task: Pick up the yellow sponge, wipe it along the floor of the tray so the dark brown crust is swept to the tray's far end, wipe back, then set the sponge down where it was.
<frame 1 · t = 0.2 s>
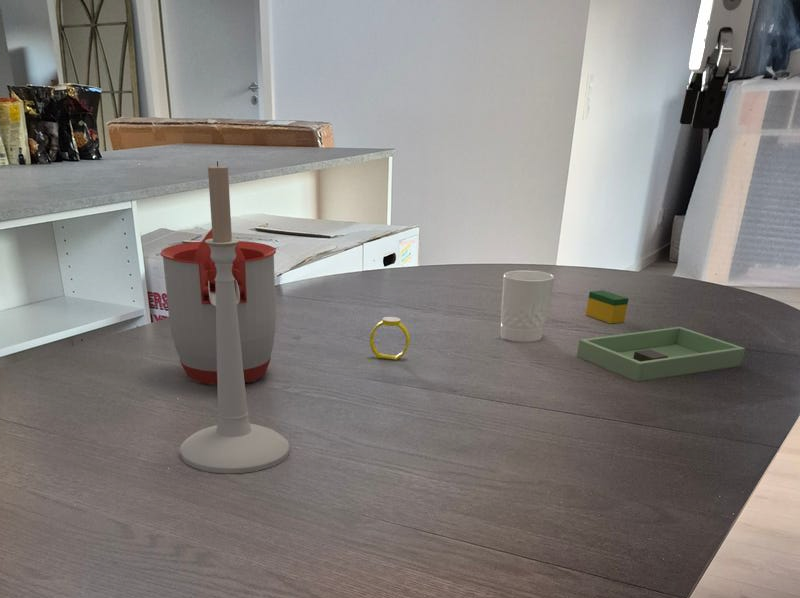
hand: (697, 126, 112), 31 cm above the table, tool pointing down, fingers open, 9 cm apart
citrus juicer: (226, 378, 124), on the table
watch: (388, 359, 131), on the table
crust: (649, 361, 128), point 1 cm above the table, touching tray
tray: (656, 364, 129), on the table
white cup: (520, 340, 140), on the table
candlestick: (235, 453, 100), on the table
sponge: (604, 318, 152), on the table
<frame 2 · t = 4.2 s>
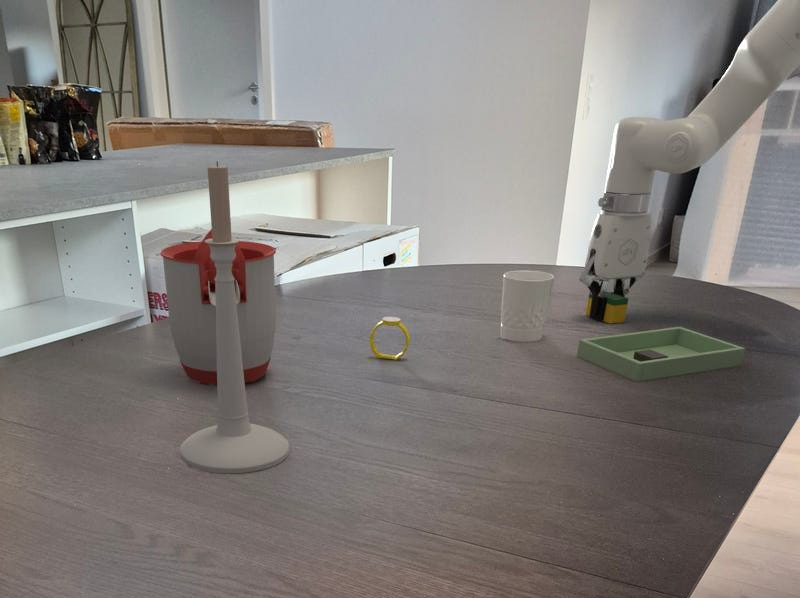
hand: (604, 317, 152), 0 cm above the table, tool pointing down, fingers closed on sponge, 3 cm apart
sponge: (604, 318, 152), on the table, touching gripper
everything else where it was.
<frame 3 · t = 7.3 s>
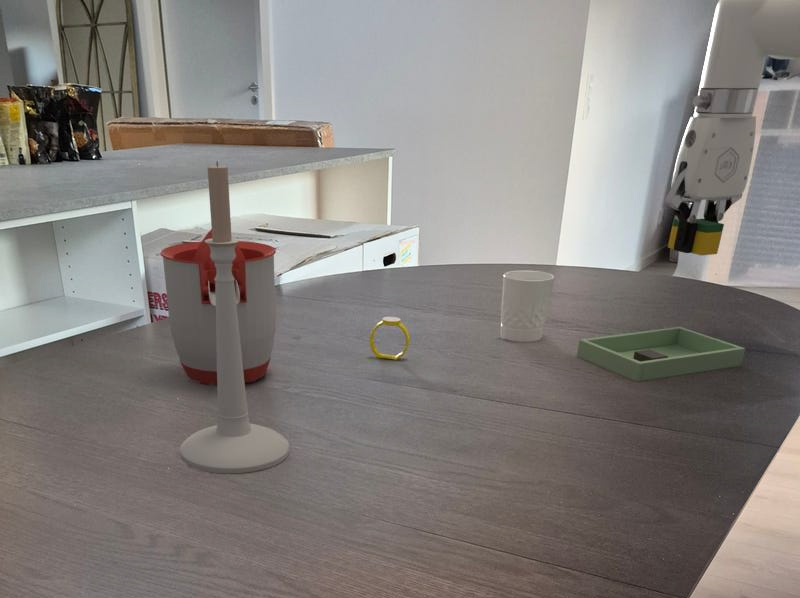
hand: (692, 249, 126), 15 cm above the table, tool pointing down, fingers closed on sponge, 3 cm apart
sponge: (692, 250, 126), point 15 cm above the table, touching gripper
everything else where it was.
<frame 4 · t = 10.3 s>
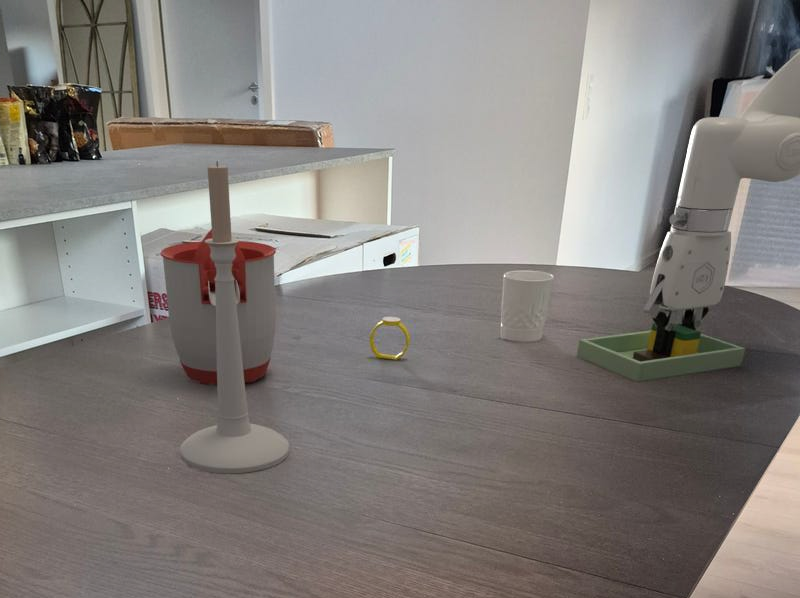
hand: (670, 353, 128), 1 cm above the table, tool pointing down, fingers closed on sponge, 3 cm apart
crust: (648, 361, 128), point 1 cm above the table, touching gripper, tray
sponge: (670, 354, 129), point 1 cm above the table, touching gripper
everything else where it was.
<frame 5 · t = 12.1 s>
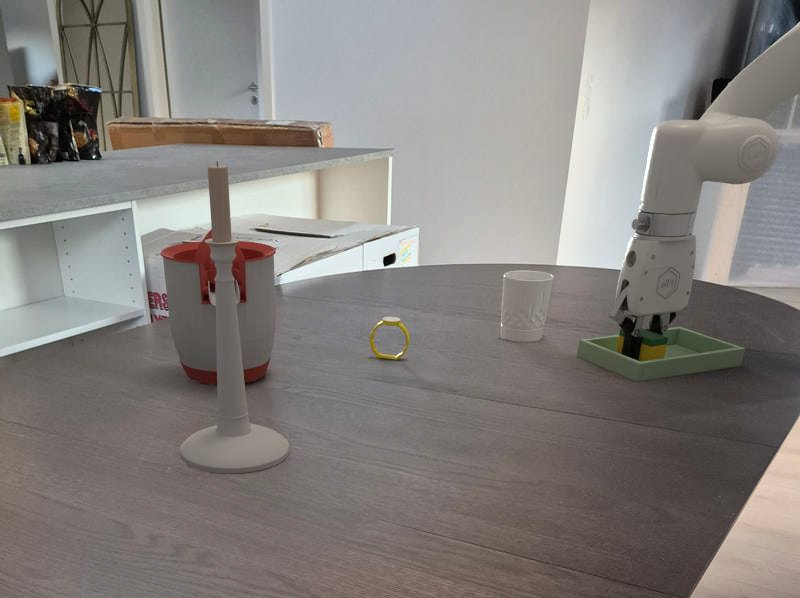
hand: (639, 359, 127), 1 cm above the table, tool pointing down, fingers closed on sponge, 3 cm apart
crust: (617, 365, 126), point 1 cm above the table, touching gripper, tray
sponge: (638, 360, 127), point 1 cm above the table, touching gripper
everything else where it was.
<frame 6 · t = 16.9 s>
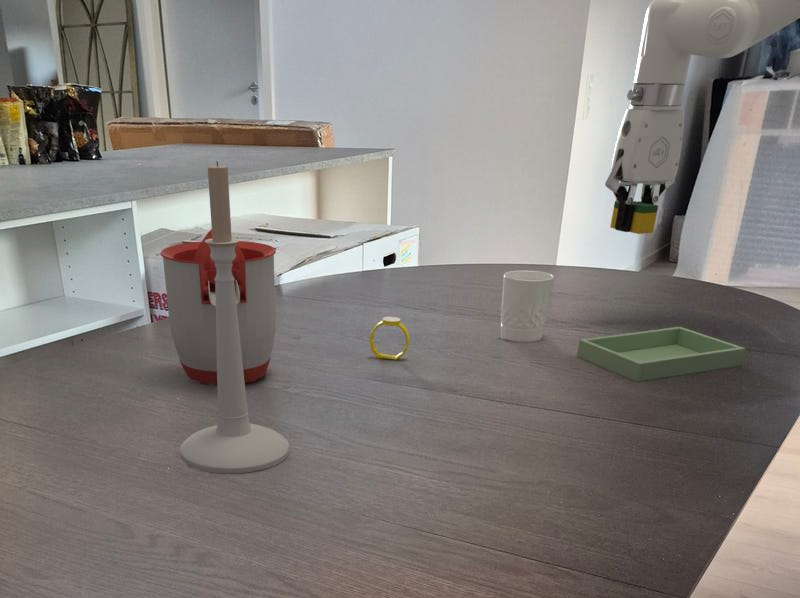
hand: (631, 228, 140), 15 cm above the table, tool pointing down, fingers closed on sponge, 3 cm apart
crust: (617, 365, 126), point 1 cm above the table, touching tray
sponge: (631, 230, 140), point 15 cm above the table, touching gripper
everything else where it was.
when the fingers open (0 cm above the table, at t = 20.9 s): sponge stays where it is, on the table.
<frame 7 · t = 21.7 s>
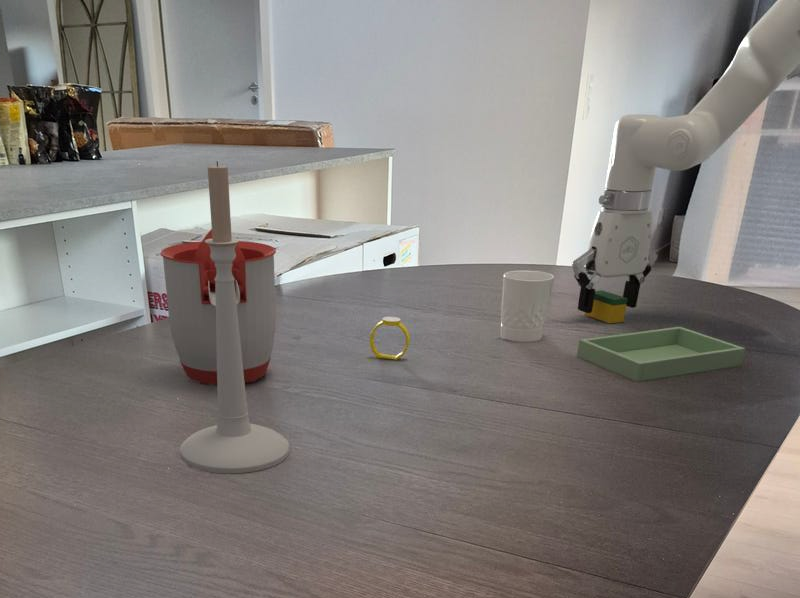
hand: (606, 308, 151), 2 cm above the table, tool pointing down, fingers open, 9 cm apart
sponge: (603, 318, 152), on the table
everything else where it was.
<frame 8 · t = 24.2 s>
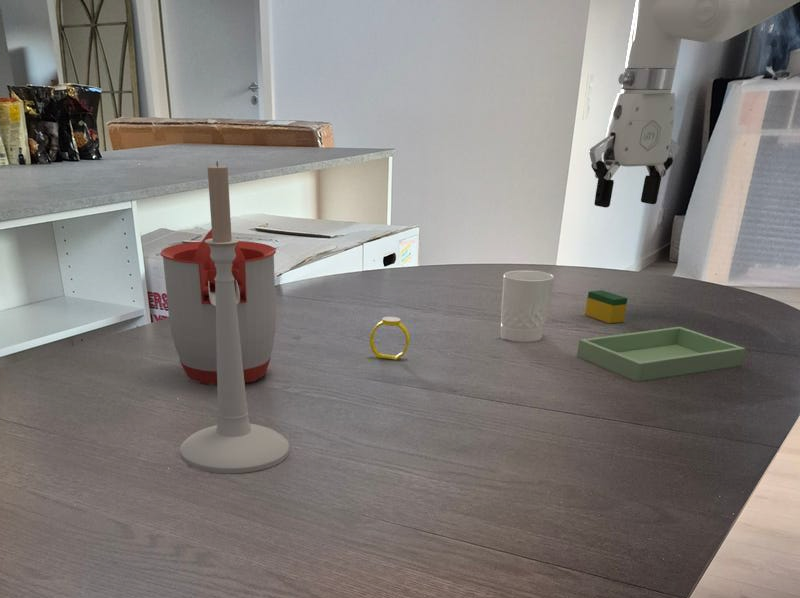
hand: (625, 204, 142), 18 cm above the table, tool pointing down, fingers open, 9 cm apart
nothing on the table moved.
at the end: crust inside the target area in the tray (0.9 cm from its centre), point 0.6 cm above the tray's base; sponge inside the target area (0.1 cm from its centre), on the table; the gripper is holding nothing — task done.
